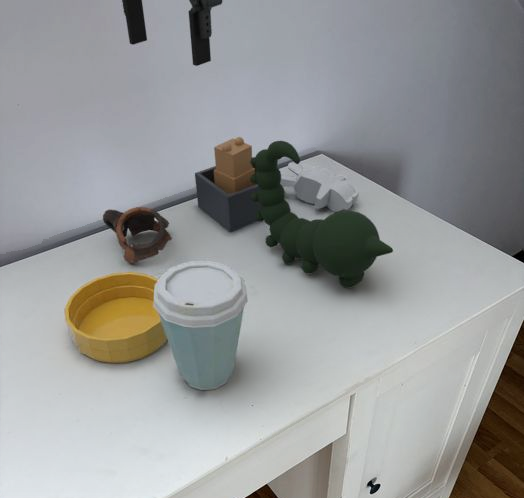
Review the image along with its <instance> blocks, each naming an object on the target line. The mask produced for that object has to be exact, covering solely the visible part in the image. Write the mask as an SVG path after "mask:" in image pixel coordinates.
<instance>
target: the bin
mask: <svg viewBox="0 0 524 498" xmlns="http://www.w3.org/2000/svg"><path fill="white" fill-rule="evenodd" d="M252 168H255V174H256V171H257V169H256V167H255V166H252ZM215 169H216V165H214V166H212V167H208V168H205V169H202V170H200V171H197V172H195V173H194V179H195V180H194V181H195V187H196V188H195V189H196V198H197V199H196V200H197V206H198V207H197V208H199V209H200V210H201V211H202V212H204V213H205V214H206V215H207V216H208V217H210V218H211V219H213V220H214V221H215V222H217V224H219V225H220V226H222V227H223V228H224V229H225V230H227V231H228V232H229V233H233V232H235V231H238V230H240V229H242V228H245V227H247V226H250V225H252V224H255V223H257V222H258V221H256V219H255V218H254V217H255V213H256V212H257V211H260V210H261V207H262V205H261V204H260V202H259V201H258V202H254V201H252V199H251V196H252V194H253V193H255V192H257V193H258V189H259V186H258V185H257V183H256V184H255V185H253V186H251V187H248V188H245V189H243V190H240V191H237V192H235V193H232V194H228V193H226V192H225V191H224V190H222V189H221V188H219V187H218V186H217V185H215V181H214V170H215Z"/></svg>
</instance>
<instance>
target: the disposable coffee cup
mask: <svg viewBox="0 0 524 498" xmlns="http://www.w3.org/2000/svg"><path fill="white" fill-rule="evenodd" d="M157 279H158V282H157V283H156V284H155V286H154V304H153V307H154V308H155V309H156V310H157V311H158V314H159V317H160V319H161V322H162V325H163V328H164V330H165V333H166V336H167V339H168V340H167V341H168V344H169V347H170V350H171V352H172V355H173V358H174V362H175V364H176V366H177V369H178V372H179V374H180V376H181V377H182V379H183V380H184V381H185V382H186V384H187V385H188V386H189V387H191V388H194V389H197V390H199V391H210V390H212V391H213V390H215V389H218V388H220V387H222V386H225V384H226V383H227V382H228V380H229V378H230V377H231V376H232V374H233V372H234V370H235V369H234V368H235V364H236V363H235V362H236V357H237V351H238V345H239V344H238V343H239V339H240V333H241V327H242V321H243V316H244V309H245V306H246V304H247V303H248V302H249V301H248V294H247V286H246V282H245V279H244V278H243V277H242V276H241V275H240V274H239V273H237V272H236V271H235V270H234V269H233V268H232V267H230V266H229V265H226V264H222V263H219V262H216V261H211V260H197V261H195V260H193V261H186V262H184V263H180V264H178V265H175V266H172V267H170V268H169V267H168V269H167V270H166V271H165V272H164V273H163V274H161V276H159V278H157Z"/></svg>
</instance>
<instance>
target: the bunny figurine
mask: <svg viewBox="0 0 524 498" xmlns="http://www.w3.org/2000/svg"><path fill="white" fill-rule="evenodd" d="M287 169H288V170H289V171H290V172H292V173H294V175H296V177H295V176H290V175H285V174H283V173H281V182H280V184H281V185H282V186H283V187H292V188H293V189H294V193H295V194H296V196H297V198H298V199H299V200H301V201H303V202H305V203H308V204H311V205H314V209H317V210H321V209H322V208H325V207H327V208H328V209H329V210H330V211H332V212H334V213H336V212H339V211H349V209H350V208H351V207H352V205H354V204H355V203H356V202H357V201H358V199H359V196H360V193H359V192H357V191H356V189H355V188H354V186H353V184H352V183H351V182H350V181H348V180H346V179H347V177H346V176H345V175H343V174H338V175H332V174H331V173H330V171H329V170H327V169H326V168H324V167H321V166H318V165H313V166H310V167H308V168H305V169H304V168H303V167H302V166H301V165H300V163H299V164H296V163H295V162H294V161H291V162H289V163H288V164H287Z"/></svg>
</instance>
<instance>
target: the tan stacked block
mask: <svg viewBox="0 0 524 498" xmlns="http://www.w3.org/2000/svg"><path fill="white" fill-rule="evenodd" d="M213 151H214V162H215V164H214V165H215V166H216V169H215V170H214V181H215V185H217V186H218V187H219V188H221V189H222V190H224V191H225V192H226V193H228V194H232V193H235V192H237V191H240V190H243V189H245V188H248V187H251V186H253V185H255V183H252V182H251V181H250V177H251V175H252V174H255V168H252V165H251V164H250V160H251V158H253V146H252V145H251V144H248V143H247V142H245V140H244V138H243V137H241V136H237V137H235V138H230V139H228V140H226V141H224V142H221V143H219V144H217V145H216V146H214V148H213Z"/></svg>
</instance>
